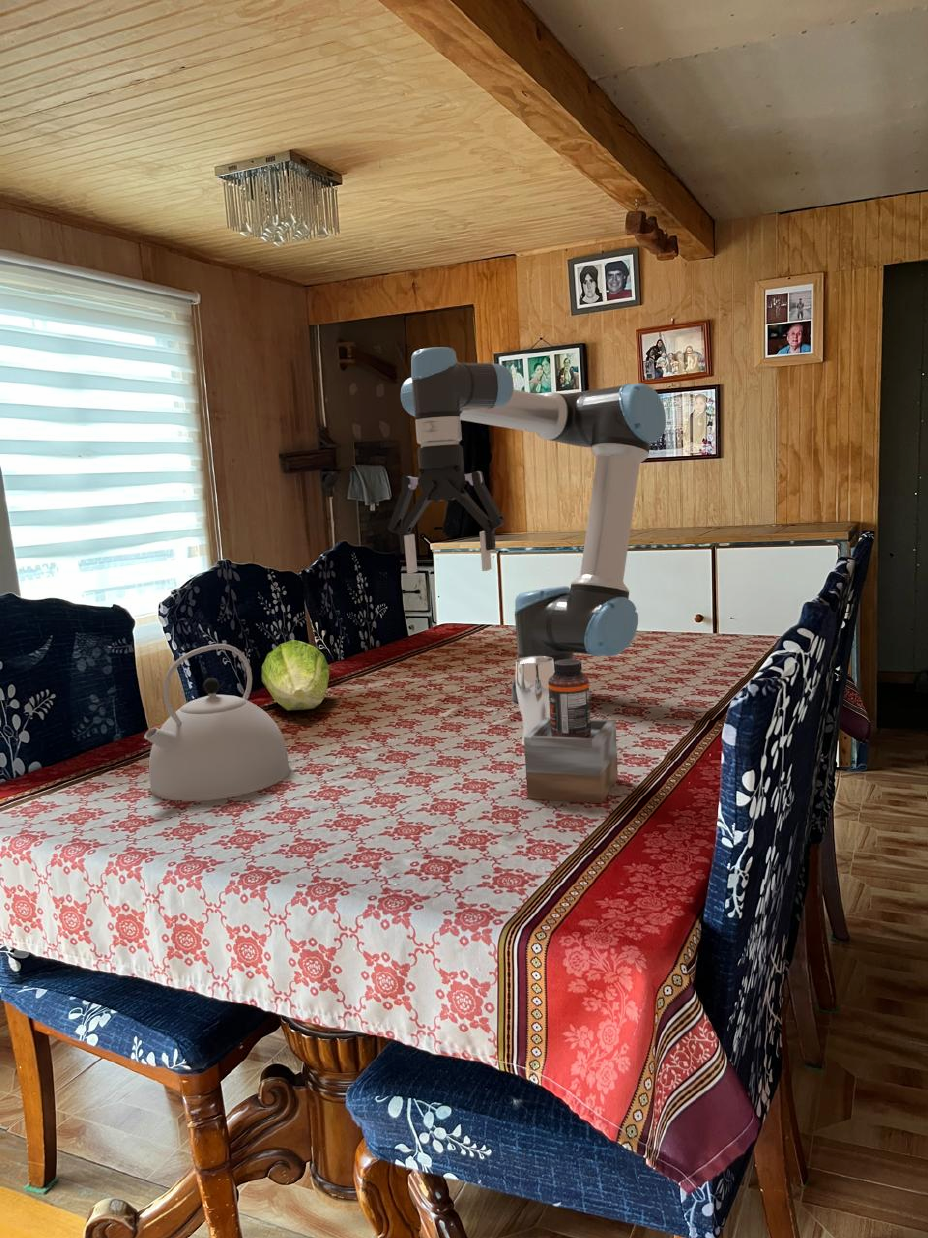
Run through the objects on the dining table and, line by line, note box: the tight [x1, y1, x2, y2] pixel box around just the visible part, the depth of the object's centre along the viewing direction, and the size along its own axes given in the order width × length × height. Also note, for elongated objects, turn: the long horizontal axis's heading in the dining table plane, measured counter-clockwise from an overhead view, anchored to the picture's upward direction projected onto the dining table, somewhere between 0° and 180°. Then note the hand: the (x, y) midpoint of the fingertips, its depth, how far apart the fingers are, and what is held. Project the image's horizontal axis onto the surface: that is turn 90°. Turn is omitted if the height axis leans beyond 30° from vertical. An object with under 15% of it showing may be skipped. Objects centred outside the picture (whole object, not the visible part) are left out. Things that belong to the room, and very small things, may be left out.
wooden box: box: [524, 718, 619, 804], centre depth 138 cm, size 11×11×9 cm
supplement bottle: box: [548, 658, 592, 738], centre depth 137 cm, size 6×6×11 cm
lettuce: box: [261, 639, 330, 711], centre depth 200 cm, size 14×24×15 cm
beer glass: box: [515, 656, 555, 746], centre depth 163 cm, size 7×7×15 cm
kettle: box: [143, 643, 291, 802], centre depth 154 cm, size 25×23×22 cm
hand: (449, 571), depth 159 cm, fingers open, 13 cm apart
